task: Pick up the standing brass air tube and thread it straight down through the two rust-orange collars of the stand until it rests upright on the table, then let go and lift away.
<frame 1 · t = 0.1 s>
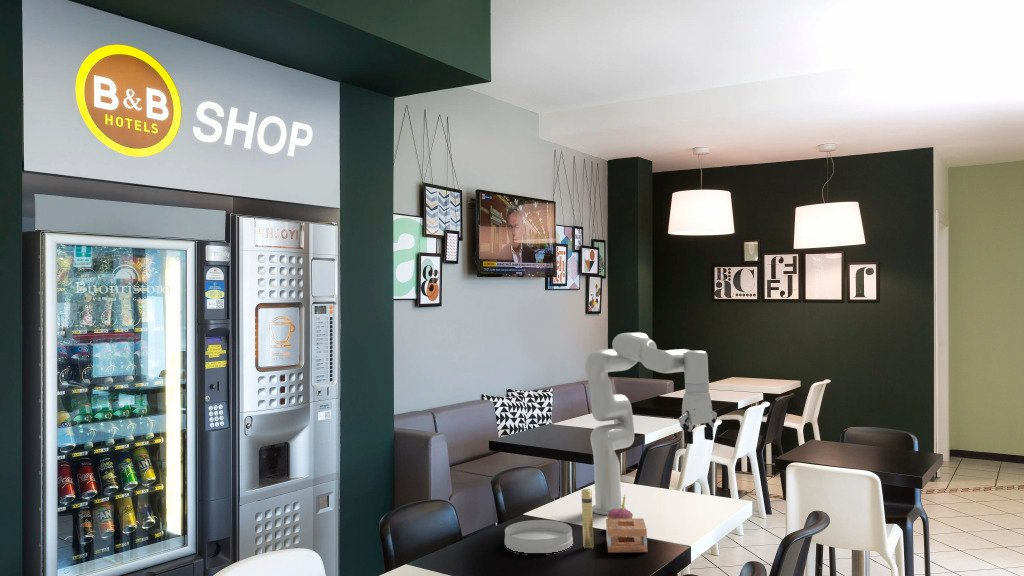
hand: (698, 441, 248), 31 cm above the table, tool pointing down, fingers open, 9 cm apart
collar stand: (626, 546, 242), on the table
dish: (538, 545, 247), on the table
cupcake: (620, 530, 260), on the table
air tube: (588, 547, 242), on the table
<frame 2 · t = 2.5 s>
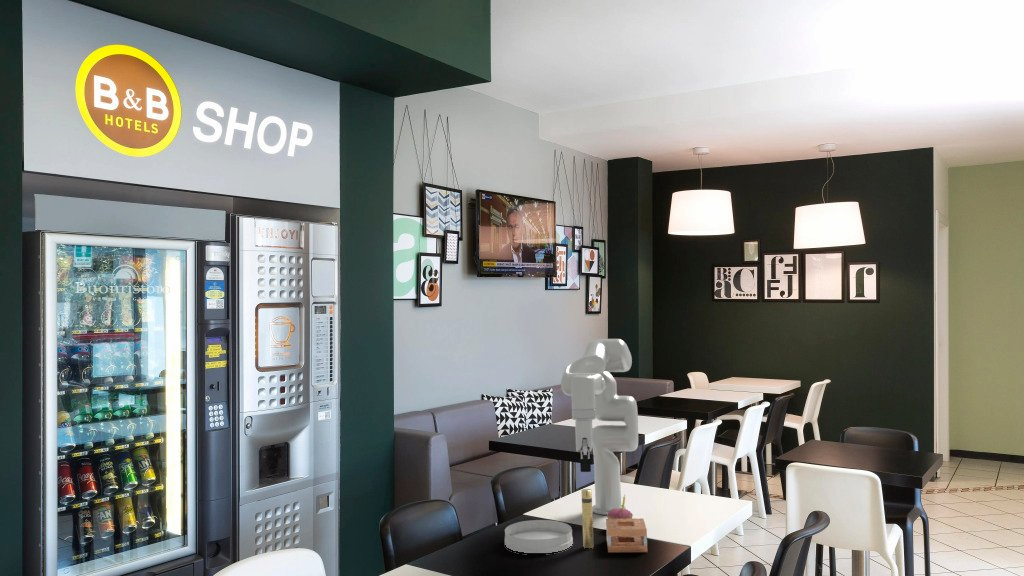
hand: (585, 468, 242), 25 cm above the table, tool pointing down, fingers open, 9 cm apart
nothing on the table moved.
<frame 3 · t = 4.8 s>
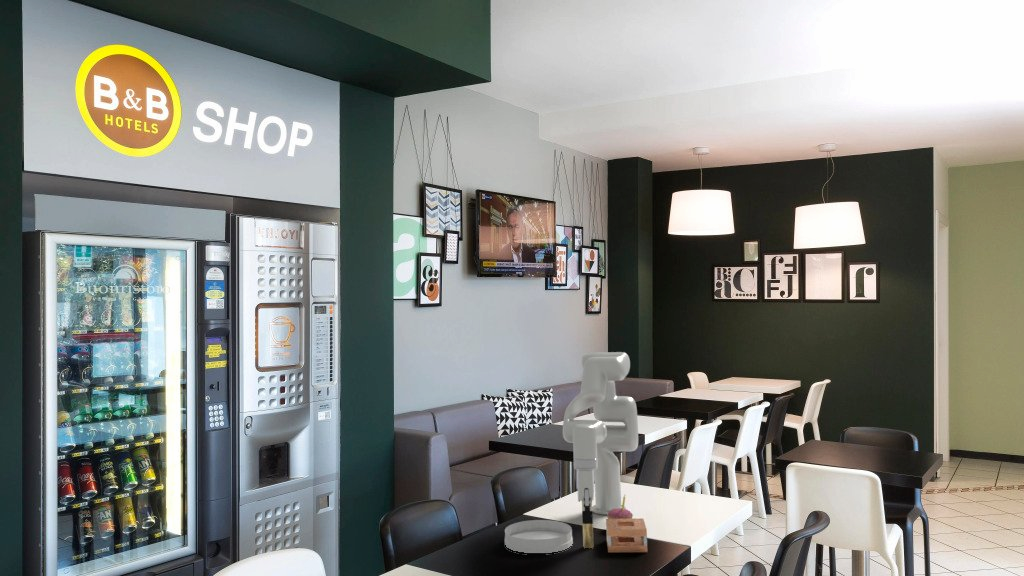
hand: (587, 521, 242), 8 cm above the table, tool pointing down, fingers closed on air tube, 3 cm apart
air tube: (588, 547, 242), on the table, touching gripper
everything else where it was.
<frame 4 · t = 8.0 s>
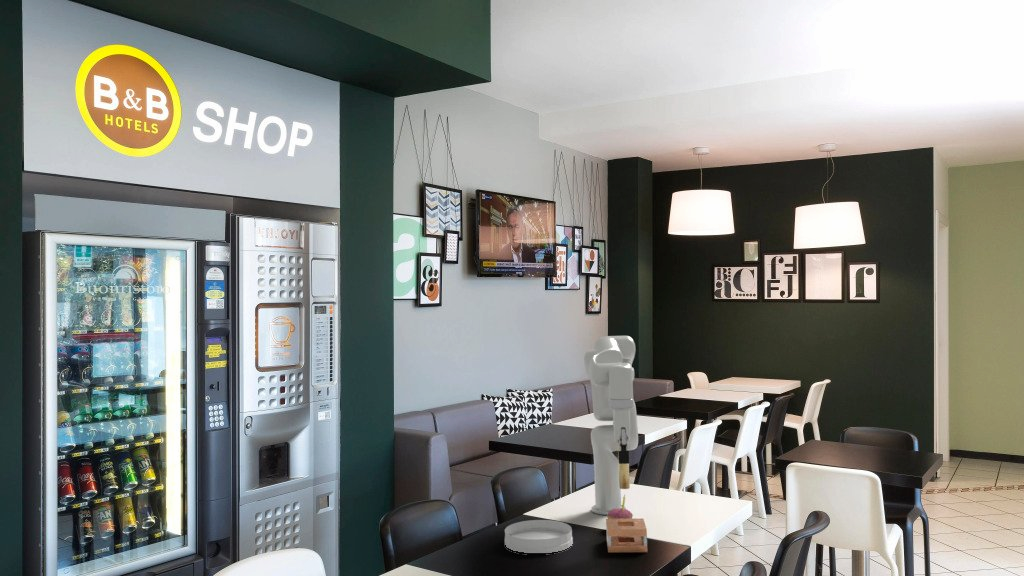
hand: (623, 461, 242), 27 cm above the table, tool pointing down, fingers closed on air tube, 3 cm apart
air tube: (624, 487, 242), point 18 cm above the table, touching gripper
everything else where it was.
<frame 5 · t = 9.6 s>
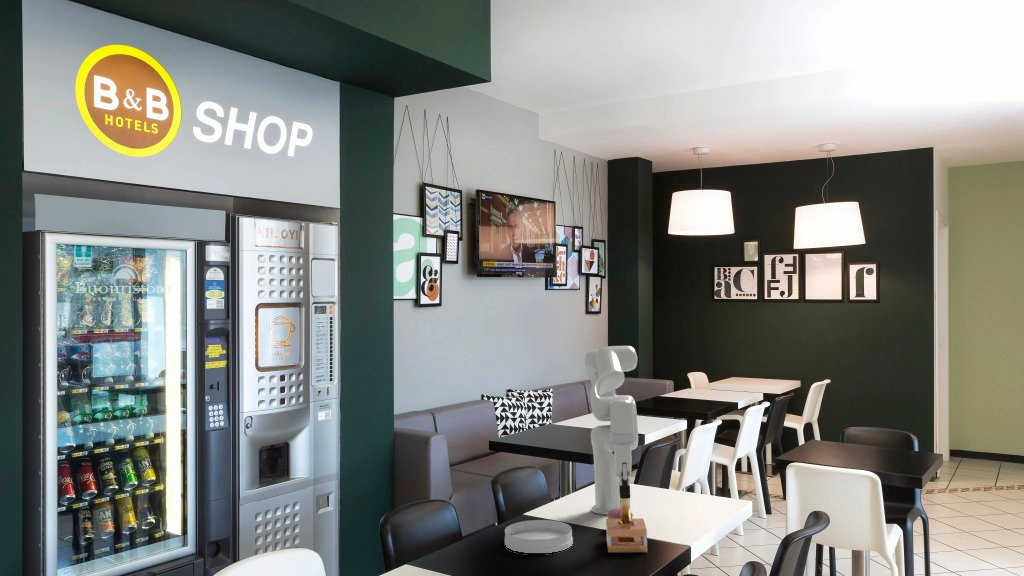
hand: (624, 496, 242), 16 cm above the table, tool pointing down, fingers closed on air tube, 3 cm apart
air tube: (625, 522, 242), point 8 cm above the table, touching gripper
everything else where it was.
when the fingers open (9 cm above the table, at t = 11.2 s): air tube stays where it is, resting in collar stand.
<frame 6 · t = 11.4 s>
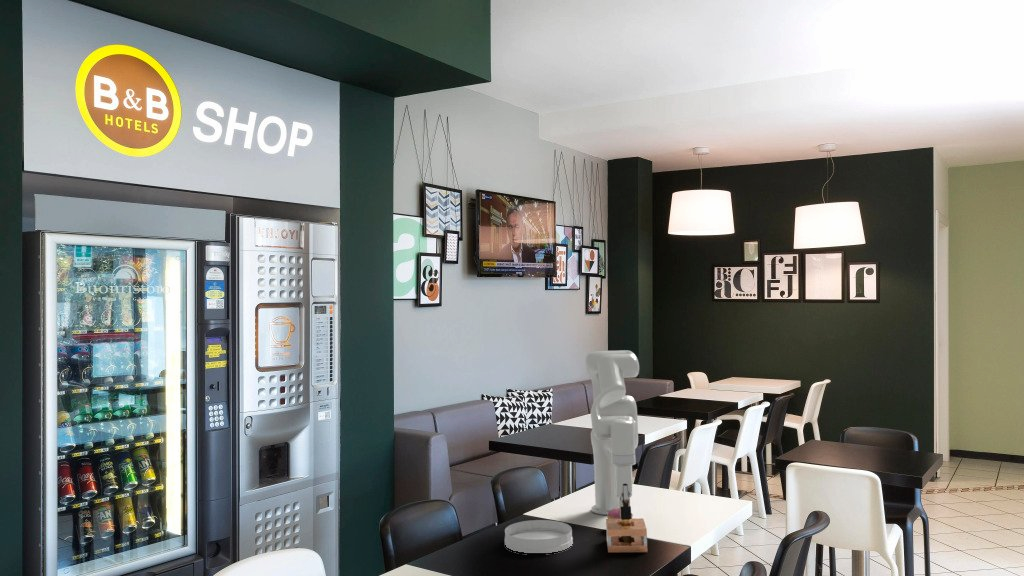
hand: (625, 516, 242), 9 cm above the table, tool pointing down, fingers open, 5 cm apart
air tube: (626, 546, 242), resting in collar stand
everything else where it was.
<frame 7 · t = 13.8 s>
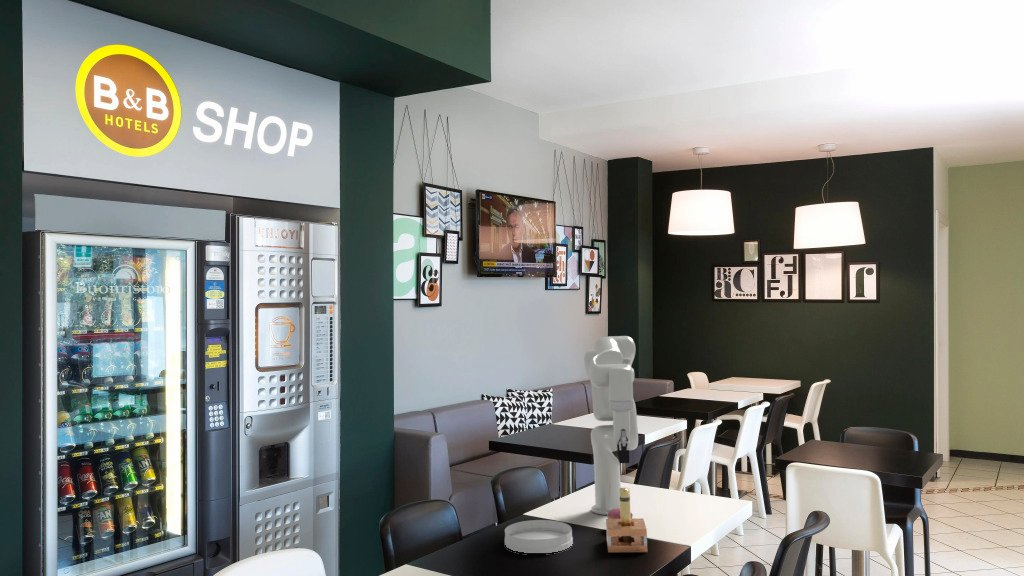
hand: (623, 459, 243), 27 cm above the table, tool pointing down, fingers open, 9 cm apart
nothing on the table moved.
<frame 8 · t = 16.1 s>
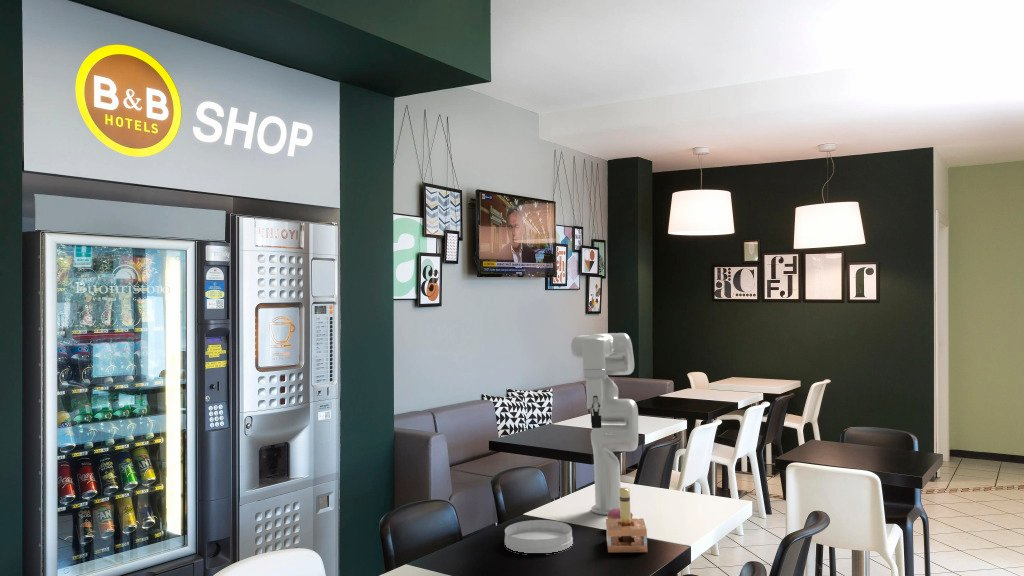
hand: (596, 425, 255), 36 cm above the table, tool pointing down, fingers open, 9 cm apart
nothing on the table moved.
at the end: air tube 0.1 cm off-centre on the collar stand, point 0.0 cm above the collar stand's base; air tube tilted 0°; the gripper is holding nothing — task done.
